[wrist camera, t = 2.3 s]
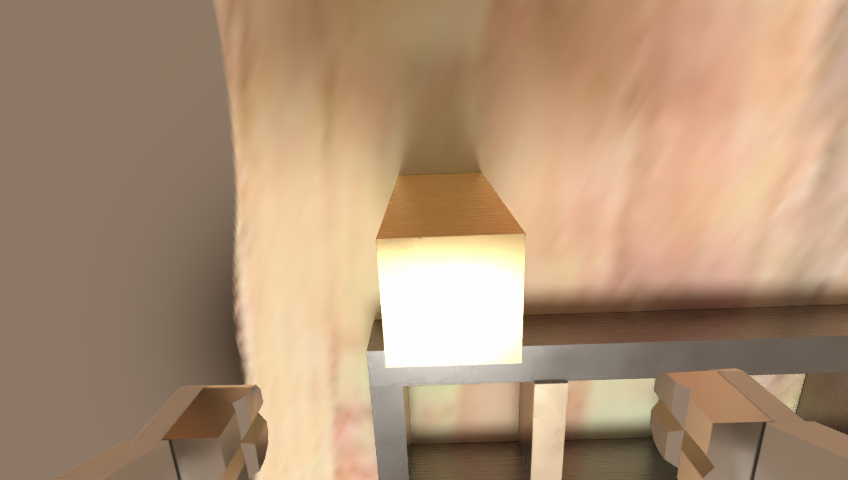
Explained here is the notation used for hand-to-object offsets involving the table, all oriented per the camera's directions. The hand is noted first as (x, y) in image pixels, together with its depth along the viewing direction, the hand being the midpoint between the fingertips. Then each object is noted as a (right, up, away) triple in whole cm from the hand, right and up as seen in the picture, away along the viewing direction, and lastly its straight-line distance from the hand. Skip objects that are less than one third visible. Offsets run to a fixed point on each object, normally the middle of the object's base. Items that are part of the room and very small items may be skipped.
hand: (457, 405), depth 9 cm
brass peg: (0, +5, +13) cm, 14 cm away
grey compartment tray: (+10, -5, +16) cm, 19 cm away
